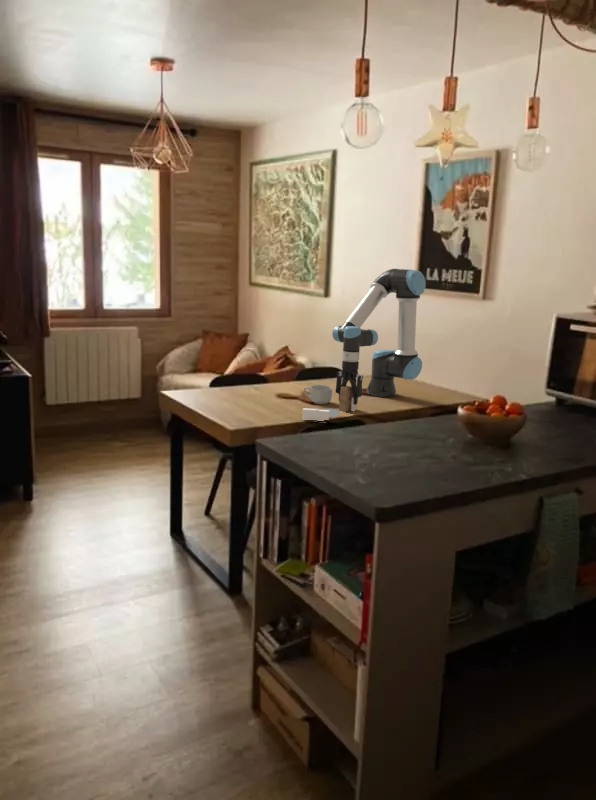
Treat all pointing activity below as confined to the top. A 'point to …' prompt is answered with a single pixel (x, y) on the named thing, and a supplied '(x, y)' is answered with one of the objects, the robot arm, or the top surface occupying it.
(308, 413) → the napkin holder
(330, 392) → the teacup
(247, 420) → the top surface
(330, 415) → the felt mat
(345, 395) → the walnut slab
